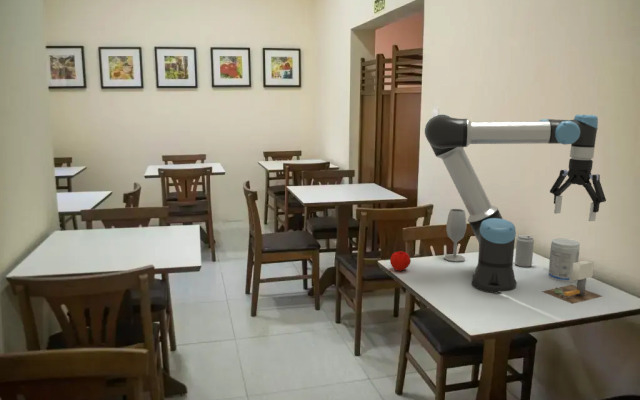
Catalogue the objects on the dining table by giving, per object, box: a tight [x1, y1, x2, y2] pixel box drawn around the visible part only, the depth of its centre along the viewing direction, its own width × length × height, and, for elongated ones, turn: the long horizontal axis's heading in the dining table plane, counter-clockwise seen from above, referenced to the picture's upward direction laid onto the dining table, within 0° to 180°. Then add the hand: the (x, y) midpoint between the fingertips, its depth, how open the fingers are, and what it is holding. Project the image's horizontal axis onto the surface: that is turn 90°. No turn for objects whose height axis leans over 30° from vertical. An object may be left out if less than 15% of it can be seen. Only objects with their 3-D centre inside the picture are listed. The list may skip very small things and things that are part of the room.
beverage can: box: [514, 234, 535, 268], centre depth 207 cm, size 6×6×12 cm
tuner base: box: [541, 284, 603, 305], centre depth 174 cm, size 15×12×2 cm
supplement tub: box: [548, 238, 580, 283], centre depth 189 cm, size 10×10×15 cm
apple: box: [389, 250, 412, 272], centre depth 199 cm, size 8×8×7 cm
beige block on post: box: [564, 259, 595, 296], centre depth 171 cm, size 12×3×11 cm, turn 117°
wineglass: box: [443, 208, 467, 263], centre depth 213 cm, size 9×9×21 cm
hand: (573, 216), depth 187 cm, fingers open, 13 cm apart
